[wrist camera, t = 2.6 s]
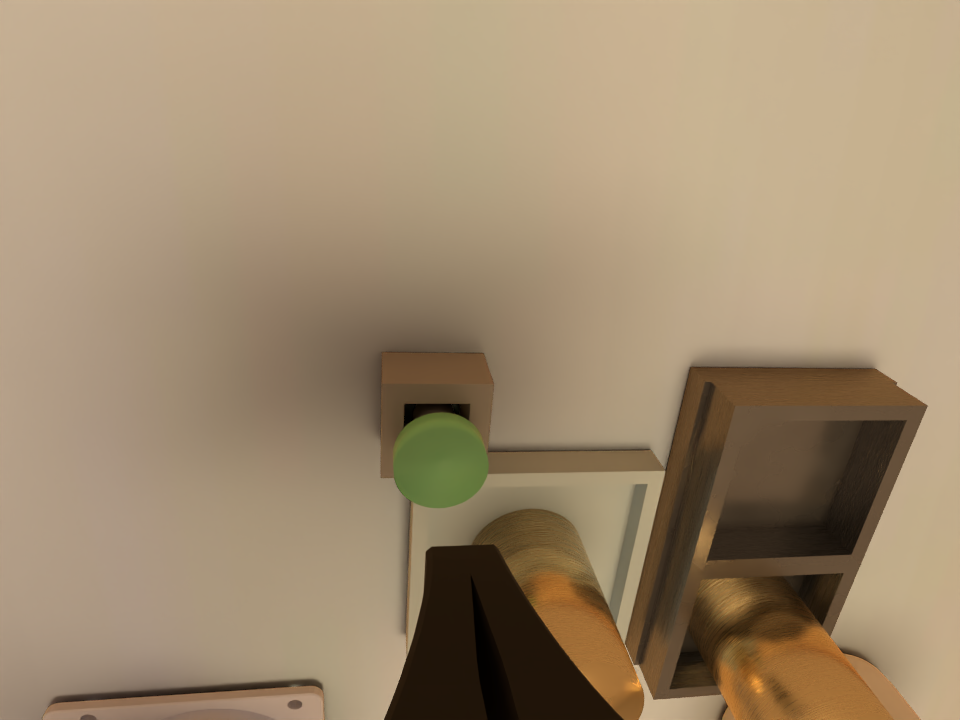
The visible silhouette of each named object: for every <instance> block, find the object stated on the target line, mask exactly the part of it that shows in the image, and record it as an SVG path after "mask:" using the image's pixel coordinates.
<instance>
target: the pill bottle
mask: <svg viewBox="0 0 960 720" xmlns="http://www.w3.org/2000/svg"><path fill="white" fill-rule="evenodd" d="M844 655H845V657H846V658H847V659H848V661H849V662H850V663H851V664H852V666H853V667H854V668H855V670H856V671H857V672H858V674H859V675H860V676H861V677H862V679H863V680H864V681H865V683H866V684H867V685H868V687H869V688H870V689H871V690H872V692H873V693H874V694H875V696H876V697H877V698H878V699H879V701H880V702H881V703H882V705H883V706H884V707H885V709H886V710H887V711H888V712H889V714H890V715H891V716H892V718H893V719H894V720H921V719H920V718H919V717H918V715H917V714H916V713H915V712H914V710H913V709H912V708H911V707H910V705H909V704H908V703H907V702H906V700H905V699H904V698H903V697H902V695H901V694H900V693H899V692H898V690H897V689H896V688H895V687H894V685H893V684H892V683H891V682H890V681H889V680H888V679H887V678H886V677H885V676H884V675H883V674H882V673H881V672H880V671H879V670H878V669H877V668H876V667H875V666H873V665H872V664H870V663H869V662H867V661H865V660H863V659H861V658H859V657H856V656H853V655H849V654H844ZM722 720H735V718H734V716H733V714H732V712H731V710H730V709H729V707H727V709H726V711H725V713H724V715H723V718H722Z"/></svg>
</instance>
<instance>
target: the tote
mask: <svg viewBox="0 0 960 720" xmlns="http://www.w3.org/2000/svg"><path fill="white" fill-rule="evenodd" d="M487 457H488V462H489V470H488V475H487V478H486V480H485V482H484V484H483V486H482V487H481V489H480V490H479V491H478V492H477V493H476V494H475V495H474V496H473V497H471V498H470V499H468V500H467V501H465V502H463V503H461V504H458V505H455V506H452V507H447V508H428V507H424V506H421V505H418V504H416V503H414V502H412V501H411V509H410V536H409V562H408V589H407V616H406V654H407V655H408V652H409V649H410V646H411V643H412V640H413V636H414V632H415V628H416V624H417V620H418V616H419V612H420V608H421V604H422V598H423V593H424V574H425V554H426V551H427V550H428V549H429V548H431V547H432V546H461V545H472V543H473V541H474V539H475V538H476V536H477V535H478V534H479V532H480V531H481V530H482V529H483V528H484V527H485V526H487V525H488V524H489V523H491V522H492V521H493V520H495V519H497V518H499V517H501V516H503V515H505V514H508V513H511V512H514V511H518V510H523V509H543V510H548V511H552V512H555V513H557V514H560V515H561V516H563V517H565V518H566V519H567V520H569V521H570V522H571V523H572V524H573V525H574V527H575V528H576V530H577V531H578V534H579V536H580V538H581V541H582V543H583V546H584V548H585V551H586V553H587V555H588V558H589V560H590V563H591V565H592V568H593V570H594V572H595V575H596V577H597V580H598V582H599V585H600V587H601V589H602V592H603V594H604V597H605V599H606V602H607V604H608V606H609V609H610V611H611V614H612V616H613V619H614V621H615V623H616V626H617V628H618V631H619V633H620V636H621V638H622V640H623V643H624V644H625V640H626V636H627V632H628V627H629V623H630V619H631V615H632V610H633V606H634V602H635V598H636V594H637V589H638V585H639V581H640V577H641V573H642V568H643V564H644V560H645V556H646V552H647V547H648V543H649V539H650V535H651V530H652V526H653V522H654V518H655V514H656V509H657V505H658V501H659V497H660V493H661V488H662V484H663V480H664V476H665V472H666V471H665V469H664V468H663V466H662V465H661V463H660V462H659V460H658V459H657V457H656V456H655V455H654V453H653V452H652V450H620V451H541V452H488V453H487Z"/></svg>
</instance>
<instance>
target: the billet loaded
mask: <svg viewBox="0 0 960 720" xmlns="http://www.w3.org/2000/svg"><path fill="white" fill-rule="evenodd" d="M687 630H688V632H689V633H690V635H691V637H692V639H693V641H694V643H695V645H696V647H697V648H698V650H699V652H700V654H701V656H702V658H703V660H704V662H705V663H706V665H707V667H708V669H709V671H710V673H711V675H712V677H713V678H714V680H715V682H716V684H717V686H718V688H719V690H720V692H721V694H722V695H723V697H724V699H725V701H726V703H727V705H728V707H729V709H730V710H731V712H732V714H733V716H734V718H735V720H894V719H893V718H892V716H891V715H890V714H889V712H888V711H887V710H886V709H885V707H884V706H883V705H882V703H881V702H880V701H879V699H878V698H877V697H876V696H875V694H874V693H873V692H872V690H871V689H870V688H869V687H868V685H867V684H866V683H865V681H864V680H863V679H862V677H861V676H860V675H859V674H858V672H857V671H856V670H855V668H854V667H853V666H852V664H851V663H850V662H849V661H848V659H847V658H846V657H845V655H844V654H843V653H842V652H841V650H840V649H839V648H838V646H837V645H836V644H835V642H834V641H833V640H832V639H831V637H830V636H829V635H828V633H827V632H826V631H825V629H824V628H823V627H822V626H821V624H820V623H819V622H818V620H817V619H816V618H815V617H814V615H813V614H812V613H811V611H810V610H809V609H808V607H807V606H806V605H805V604H804V602H803V601H802V600H801V598H800V597H799V596H798V594H797V593H796V592H795V591H794V589H793V588H792V587H791V585H790V584H789V583H788V582H787V580H786V579H785V578H784V576H770V577H748V578H727V579H706V580H701V582H700V586H699V589H698V593H697V596H696V599H695V603H694V606H693V610H692V613H691V617H690V620H689V624H688V627H687Z"/></svg>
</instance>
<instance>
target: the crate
mask: <svg viewBox="0 0 960 720" xmlns="http://www.w3.org/2000/svg"><path fill="white" fill-rule="evenodd" d="M896 385H897V382H896V381H894V380H892V379H891V378H889V377H888V376H886V375H884V374H883V373H881V372H880V371H878V370H877V369H824V368H712V367H691V368H690V372H689V377H688V381H687V385H686V389H685V393H684V398H683V402H682V406H681V410H680V414H679V419H678V423H677V427H676V431H675V435H674V440H673V444H672V448H671V452H670V456H669V461H668V465H667V469H666V473H665V477H664V482H663V486H662V490H661V494H660V499H659V503H658V507H657V511H656V515H655V520H654V524H653V528H652V532H651V536H650V541H649V545H648V549H647V553H646V557H645V562H644V566H643V570H642V574H641V578H640V583H639V587H638V591H637V595H636V599H635V604H634V608H633V612H632V616H631V620H630V625H629V629H628V633H627V637H626V641H625V645H626V647H627V649H628V652H629V654H630V657H631V659H632V661H633V664H634V665H639V666H640V668H641V671H642V673H643V675H644V678H645V680H646V683H647V685H648V687H649V690H650V692H651V694H652V697H653V699H654V700H656V699H669V698H682V697H695V696H708V695H721V692H720V690H719V688H718V686H717V684H716V682H715V680H714V678H713V677H712V675H711V673H710V671H709V669H708V667H707V665H706V663H705V662H704V660H703V658H702V656H701V654H700V652H699V650H698V648H697V647H696V645H695V643H694V641H693V639H692V637H691V635H690V633H689V632H688V630H687V627H688V624H689V620H690V617H691V613H692V610H693V606H694V603H695V599H696V596H697V593H698V589H699V586H700V582H701V580H706V579H727V578H748V577H770V576H784V578H785V579H786V580H787V582H788V583H789V584H790V585H791V587H792V588H793V589H794V591H795V592H796V593H797V594H798V596H799V597H800V598H801V600H802V601H803V602H804V604H805V605H806V606H807V607H808V609H809V610H810V611H811V613H812V614H813V615H814V617H815V618H816V619H817V620H818V622H819V623H820V624H821V626H822V627H823V628H824V629H825V631H826V632H827V633H828V635H829V636H831V633H832V631H833V629H834V626H835V624H836V622H837V619H838V617H839V614H840V612H841V610H842V607H843V605H844V603H845V600H846V598H847V596H848V593H849V591H850V588H851V586H852V584H853V581H854V579H855V577H856V574H857V572H858V569H859V567H860V565H861V562H862V560H863V558H864V555H865V553H866V551H867V548H868V546H869V543H870V541H871V539H872V536H873V534H874V532H875V529H876V527H877V524H878V522H879V520H880V517H881V515H882V513H883V510H884V508H885V506H886V503H887V501H888V498H889V496H890V494H891V491H892V489H893V487H894V484H895V482H896V480H897V477H898V475H899V472H900V470H901V468H902V465H903V463H904V461H905V458H906V456H907V453H908V451H909V449H910V446H911V444H912V442H913V439H914V437H915V435H916V432H917V430H918V427H919V425H920V423H921V420H922V418H923V416H924V413H925V411H926V408H927V405H926V404H924V403H923V402H921V401H920V400H918V399H917V398H915V397H913V396H912V395H910V394H909V393H907V392H906V391H904V390H903V389H901V388H899V387H898V386H896Z"/></svg>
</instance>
